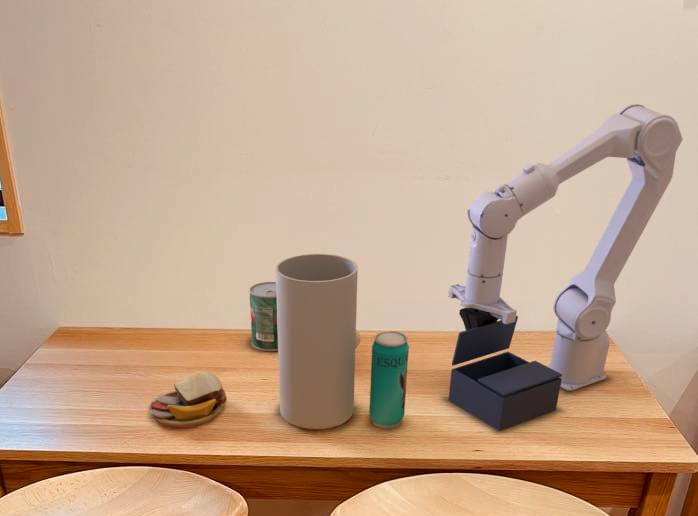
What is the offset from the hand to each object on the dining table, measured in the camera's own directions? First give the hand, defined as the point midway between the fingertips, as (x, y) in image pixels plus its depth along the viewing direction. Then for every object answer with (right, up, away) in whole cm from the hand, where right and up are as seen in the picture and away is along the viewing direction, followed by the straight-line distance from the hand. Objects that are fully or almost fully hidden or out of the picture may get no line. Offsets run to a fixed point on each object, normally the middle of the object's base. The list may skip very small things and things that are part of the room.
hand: (475, 349), depth 146 cm
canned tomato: (-36, +6, +21) cm, 42 cm away
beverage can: (-16, -13, -5) cm, 21 cm away
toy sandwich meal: (-50, -11, 0) cm, 51 cm away
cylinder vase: (-28, -11, -2) cm, 30 cm away
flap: (+1, +1, -3) cm, 3 cm away
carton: (+4, -10, -1) cm, 11 cm away
